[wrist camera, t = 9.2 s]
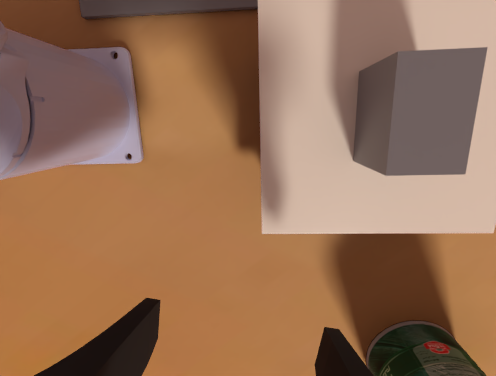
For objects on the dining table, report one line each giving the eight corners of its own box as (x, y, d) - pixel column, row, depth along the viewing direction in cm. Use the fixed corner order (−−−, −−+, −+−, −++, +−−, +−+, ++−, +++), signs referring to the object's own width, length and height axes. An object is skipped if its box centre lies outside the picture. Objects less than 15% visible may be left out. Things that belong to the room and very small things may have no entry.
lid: (262, 228, 16) (261, 270, 12) (257, -13, 13) (254, -84, 9) (482, 227, 16) (574, 272, 11) (533, -30, 12) (693, -120, 8)
